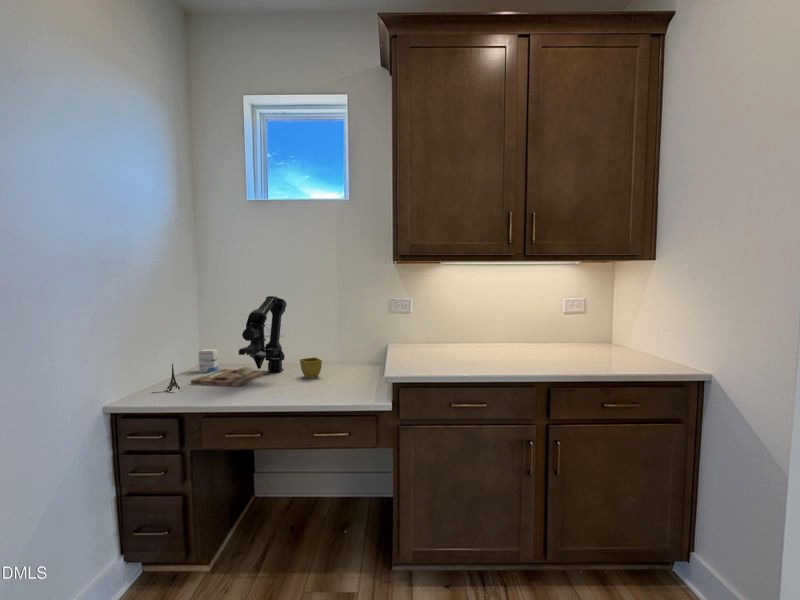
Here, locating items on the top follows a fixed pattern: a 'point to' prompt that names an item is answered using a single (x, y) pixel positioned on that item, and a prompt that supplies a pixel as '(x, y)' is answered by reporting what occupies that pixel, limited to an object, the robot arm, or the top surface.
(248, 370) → the maple block
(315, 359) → the flower pot
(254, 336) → the robot arm
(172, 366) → the eiffel tower figurine
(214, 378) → the board
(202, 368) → the ink box
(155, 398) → the top surface
